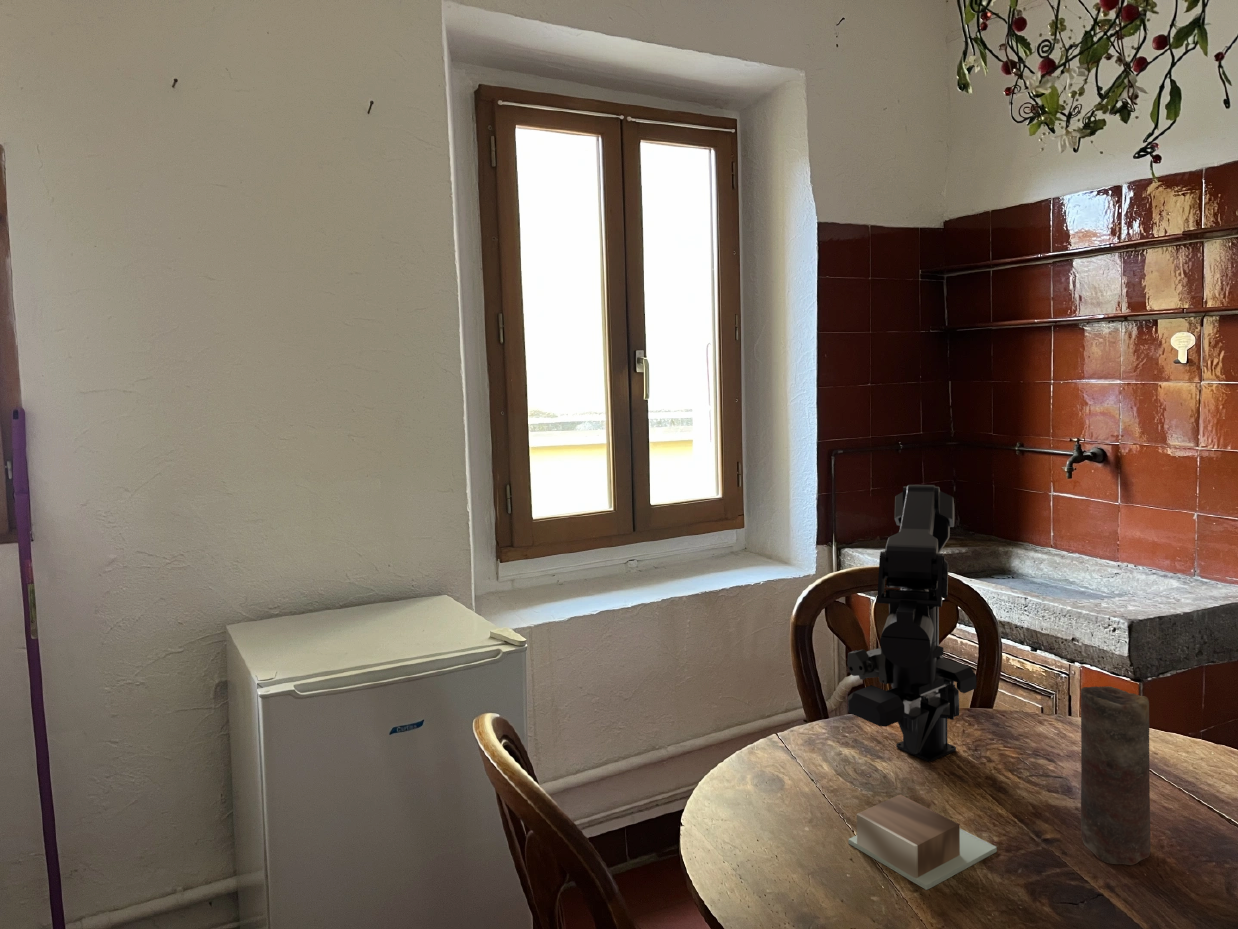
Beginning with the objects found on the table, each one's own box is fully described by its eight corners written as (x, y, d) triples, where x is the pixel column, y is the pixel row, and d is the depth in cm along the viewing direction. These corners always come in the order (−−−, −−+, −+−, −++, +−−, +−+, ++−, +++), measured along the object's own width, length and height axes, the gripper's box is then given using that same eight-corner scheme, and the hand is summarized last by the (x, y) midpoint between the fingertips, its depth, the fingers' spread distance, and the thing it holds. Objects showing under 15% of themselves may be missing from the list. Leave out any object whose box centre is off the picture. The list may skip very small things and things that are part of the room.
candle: (1067, 835, 109) (1068, 683, 106) (1123, 830, 109) (1125, 678, 106) (1104, 870, 101) (1107, 707, 99) (1164, 865, 101) (1168, 702, 99)
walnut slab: (899, 794, 112) (856, 814, 108) (959, 824, 104) (915, 846, 100) (900, 823, 112) (857, 844, 108) (959, 855, 104) (915, 878, 100)
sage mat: (916, 811, 116) (916, 806, 116) (996, 851, 106) (996, 847, 106) (848, 843, 109) (848, 839, 109) (926, 890, 99) (926, 885, 99)
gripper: (909, 608, 123) (911, 711, 125) (815, 639, 113) (818, 750, 115) (978, 627, 113) (979, 739, 116) (882, 663, 104) (884, 784, 106)
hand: (914, 751), depth 113 cm, fingers closed
